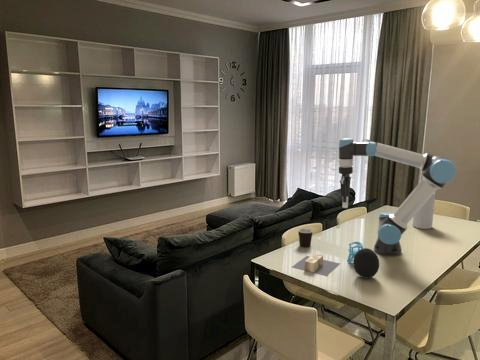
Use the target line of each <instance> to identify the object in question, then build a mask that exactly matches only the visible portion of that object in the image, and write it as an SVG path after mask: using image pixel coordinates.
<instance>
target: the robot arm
mask: <svg viewBox="0 0 480 360" xmlns="http://www.w3.org/2000/svg"><path fill="white" fill-rule="evenodd" d="M338 141H339V142H338V160H337V162H338V166H339V167H338V173H339V174H340V175H341V177H340V181H339V183H340V197H341V198H342V206H341V207H342V208H343V209H348V207H349V197H350V190H351V189H350V188H351V181H352V177H351V176H350V175H351V174H353V172H354V170H353V169H354V168H353V166H354V156H355V157H374V156H375V157H377V158H382V159H385V160H389V161H393V162H396V163H400V164H404V165H407V166H411V167H414V168H419V170H420V171H422V172H423V173H422V174H421V177H422V179H421V180H420V182H418V184H417V185H416V186H415V187H414V188H413V190H412V191H411V192H410V194H408V196H407V198H405V199H404V201H403V202H402V203H401V204H400V206H399V207H398V208H397V209H396V210H395V212H381V213H379V216H378V227H377V238H376V241H375V244H374V247H373V251H374V252H375V253H376V254H378V255H383V256H391V257H395V256H399V255H401V254H402V246H401V242H400V240H401V238H402V235H403V234H405V232H406V230H407V229H408V224H409V223H410V221H411V220H413V217H414V215H415V214H416V213H417V212H418V211H419V210H420V208H421V207H422V206H423V205H424V204H425V203H426V201H427V200H428V199H429V198H430V197H431V196H432V194H433V193H434V192H435V193H436V191H437V190H441V189H443V188H444V186H445V185H446V184H448V183H450V182H452V181H453V179H454V178H455V177H456V173H457V170H456V169H457V167H456V166H455V164H454V162H453V161H451V160H450V159H449V158H448V157H445V156H443V155H442V156H441V155H436V154H430V153H427V152H426V153H424V154H423V153H419V152H415V151H411V150H407V149H404V148H399V147H395V146H392V145H388V144H385V143H381V142H376V141H372V140H371V139H363V140H361V141H354V139H353V138H352V137H351V138H349V137H346V138H340V139H339V140H338Z"/></svg>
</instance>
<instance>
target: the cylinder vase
mask: <svg viewBox="0 0 480 360" xmlns="http://www.w3.org/2000/svg"><path fill="white" fill-rule="evenodd" d="M435 199H436V191H435V192H434V193H433V194H432V196H431V197H430V198H429V199H428V200H427V201H426V203H425V204H424V205H423V206H422V207H421V208H420V210H419V211H418V212H417V213H416V214H415V215H414V217H413V218H412V226H413V227H414V228H416V229H420V230H430V229H432V228H433V224H434V223H433V220H434V212H435V211H434V210H435Z"/></svg>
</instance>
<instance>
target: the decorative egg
mask: <svg viewBox="0 0 480 360" xmlns="http://www.w3.org/2000/svg"><path fill="white" fill-rule="evenodd" d="M352 263H353V264H352V265H353V268H354V271H355V272H356V274H357V275H358V276H359V277H361V278H363V279H370V278H373V277H374V276H375V275H377V273H378V271H379V268H380V259H379V257H378V255H377V252H375V251H374V250H373V249H371V248H367V247H365V248H364V247H363V249H361V248H360V250H359V251H358V252H357V253H356V254H355V256H354V259H353V261H352Z"/></svg>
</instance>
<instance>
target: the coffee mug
mask: <svg viewBox="0 0 480 360" xmlns="http://www.w3.org/2000/svg"><path fill="white" fill-rule="evenodd" d="M297 231H298V241H299V247H302V248H310V247H311V243H312V238H313V230H312V229H310V228H300V229H299V228H298V230H297Z"/></svg>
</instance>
